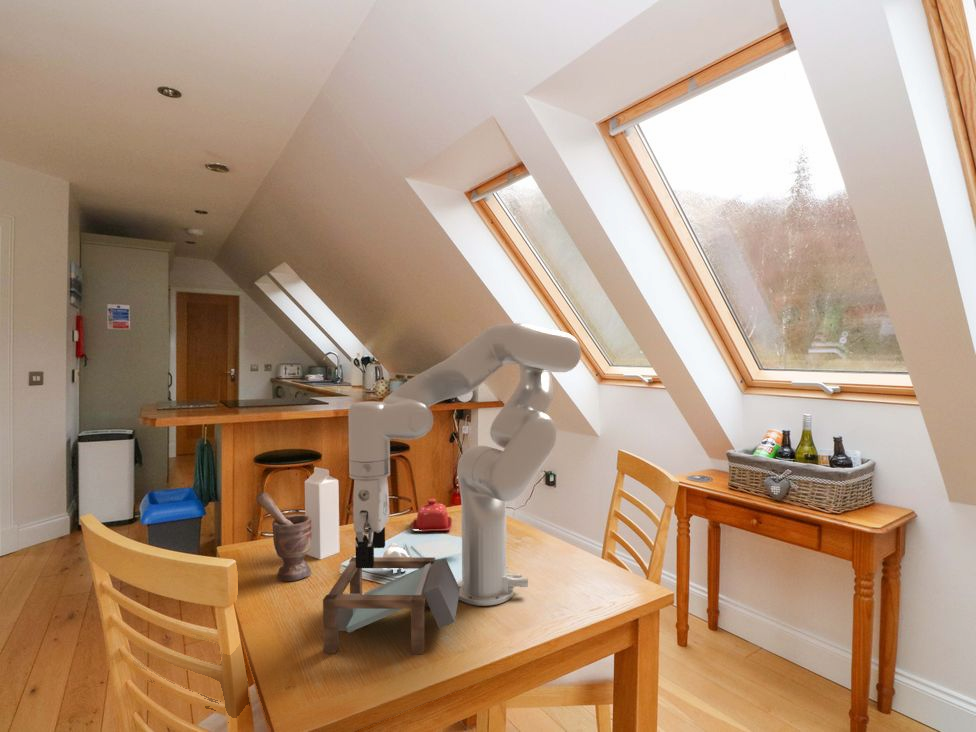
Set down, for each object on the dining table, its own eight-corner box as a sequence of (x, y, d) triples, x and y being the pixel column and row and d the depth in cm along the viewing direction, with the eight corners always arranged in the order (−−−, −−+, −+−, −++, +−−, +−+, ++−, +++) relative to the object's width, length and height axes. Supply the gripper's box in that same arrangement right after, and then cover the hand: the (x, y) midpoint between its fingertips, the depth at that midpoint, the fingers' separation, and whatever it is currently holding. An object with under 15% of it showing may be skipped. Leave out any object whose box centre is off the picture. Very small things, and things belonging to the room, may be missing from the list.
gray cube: (359, 593, 108) (334, 593, 109) (352, 605, 103) (326, 605, 104) (360, 618, 109) (335, 618, 109) (353, 632, 104) (326, 631, 104)
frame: (435, 602, 115) (435, 557, 115) (423, 654, 96) (422, 600, 96) (352, 602, 115) (352, 557, 115) (323, 653, 96) (322, 599, 96)
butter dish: (410, 535, 156) (410, 505, 156) (414, 521, 168) (413, 493, 167) (451, 534, 157) (451, 504, 156) (452, 520, 168) (451, 493, 168)
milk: (325, 547, 146) (324, 464, 145) (339, 552, 143) (338, 467, 142) (305, 554, 141) (303, 468, 141) (320, 560, 138) (318, 472, 137)
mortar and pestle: (262, 589, 122) (260, 499, 121) (256, 575, 129) (254, 490, 128) (316, 578, 127) (314, 491, 126) (308, 565, 135) (306, 483, 134)
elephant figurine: (378, 568, 133) (377, 543, 133) (411, 564, 135) (411, 540, 135) (380, 579, 126) (380, 553, 126) (415, 575, 128) (415, 550, 128)
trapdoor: (460, 587, 112) (445, 556, 112) (454, 624, 98) (437, 588, 98) (379, 622, 113) (365, 591, 113) (362, 663, 99) (345, 628, 98)
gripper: (379, 479, 96) (381, 576, 96) (398, 458, 113) (399, 540, 114) (336, 479, 96) (338, 576, 97) (361, 458, 113) (362, 540, 114)
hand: (371, 557), depth 105 cm, fingers open, 9 cm apart
